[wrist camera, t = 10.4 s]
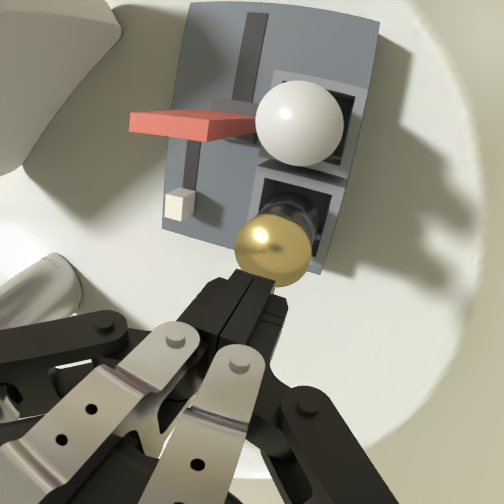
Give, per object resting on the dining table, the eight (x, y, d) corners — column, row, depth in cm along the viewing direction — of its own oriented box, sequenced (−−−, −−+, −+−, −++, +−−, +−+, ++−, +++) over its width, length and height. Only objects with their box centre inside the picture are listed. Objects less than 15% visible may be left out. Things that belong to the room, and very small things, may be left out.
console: (323, 259, 28) (313, 309, 21) (177, 218, 31) (130, 250, 24) (376, 32, 18) (387, -2, 11) (205, 11, 21) (157, -15, 14)
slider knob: (193, 213, 26) (181, 221, 24) (177, 208, 26) (164, 216, 24) (195, 191, 25) (182, 198, 23) (179, 187, 25) (165, 193, 23)
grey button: (336, 160, 16) (332, 175, 12) (275, 145, 17) (249, 155, 13) (349, 99, 15) (351, 91, 10) (286, 86, 15) (263, 74, 11)
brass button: (312, 252, 19) (299, 296, 15) (257, 237, 20) (229, 274, 15) (326, 199, 17) (319, 228, 13) (268, 183, 18) (240, 207, 14)
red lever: (261, 143, 22) (203, 163, 13) (208, 134, 23) (127, 150, 14) (268, 105, 20) (212, 98, 12) (213, 97, 21) (132, 93, 13)
